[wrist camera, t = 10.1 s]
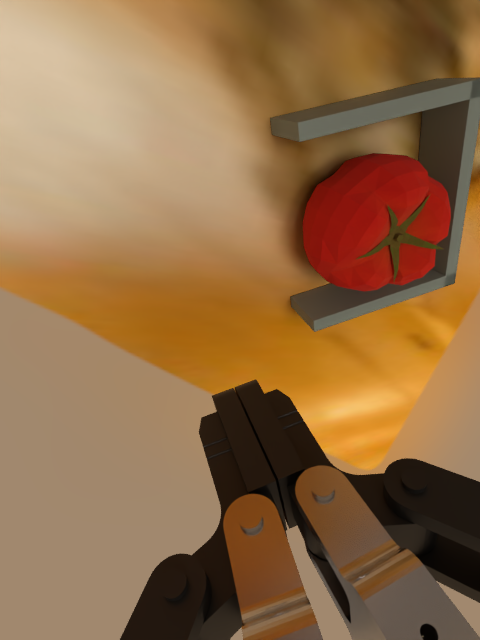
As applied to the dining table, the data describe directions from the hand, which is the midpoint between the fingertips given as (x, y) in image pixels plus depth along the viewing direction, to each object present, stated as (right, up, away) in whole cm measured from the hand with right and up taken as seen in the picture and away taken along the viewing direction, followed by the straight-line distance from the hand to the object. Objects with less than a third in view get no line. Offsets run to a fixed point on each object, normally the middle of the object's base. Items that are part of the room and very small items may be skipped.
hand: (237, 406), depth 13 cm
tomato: (+10, +13, +24) cm, 29 cm away
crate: (+11, +14, +24) cm, 30 cm away
